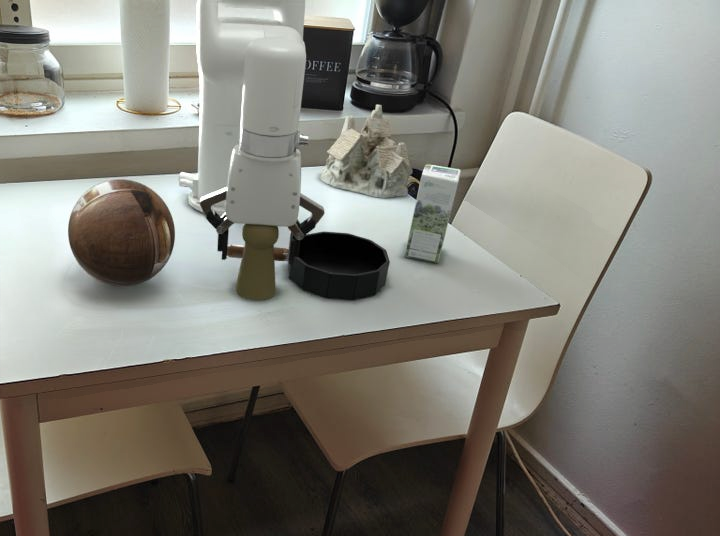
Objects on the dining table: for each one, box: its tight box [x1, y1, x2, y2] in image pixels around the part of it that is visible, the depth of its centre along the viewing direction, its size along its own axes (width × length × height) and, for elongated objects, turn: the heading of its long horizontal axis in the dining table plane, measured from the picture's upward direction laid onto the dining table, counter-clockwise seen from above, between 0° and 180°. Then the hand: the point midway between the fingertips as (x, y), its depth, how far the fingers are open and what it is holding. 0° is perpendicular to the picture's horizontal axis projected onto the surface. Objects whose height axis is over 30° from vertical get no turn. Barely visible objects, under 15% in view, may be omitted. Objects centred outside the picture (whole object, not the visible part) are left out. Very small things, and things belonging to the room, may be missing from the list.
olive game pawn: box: [234, 224, 280, 302], centre depth 103 cm, size 6×6×11 cm
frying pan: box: [227, 231, 391, 301], centre depth 110 cm, size 25×15×4 cm, turn 88°
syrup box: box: [404, 163, 462, 264], centre depth 116 cm, size 6×6×14 cm
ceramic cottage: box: [319, 104, 413, 199], centre depth 142 cm, size 16×16×15 cm
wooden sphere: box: [67, 178, 176, 287], centre depth 101 cm, size 15×15×15 cm
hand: (257, 258), depth 103 cm, fingers open, 9 cm apart
